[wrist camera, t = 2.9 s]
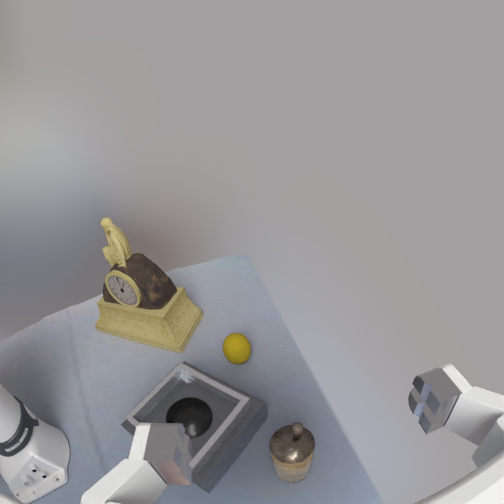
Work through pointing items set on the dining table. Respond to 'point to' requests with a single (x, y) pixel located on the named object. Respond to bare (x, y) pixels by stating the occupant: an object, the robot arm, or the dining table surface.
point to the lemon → (236, 348)
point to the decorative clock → (143, 299)
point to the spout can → (292, 452)
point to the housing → (202, 419)
